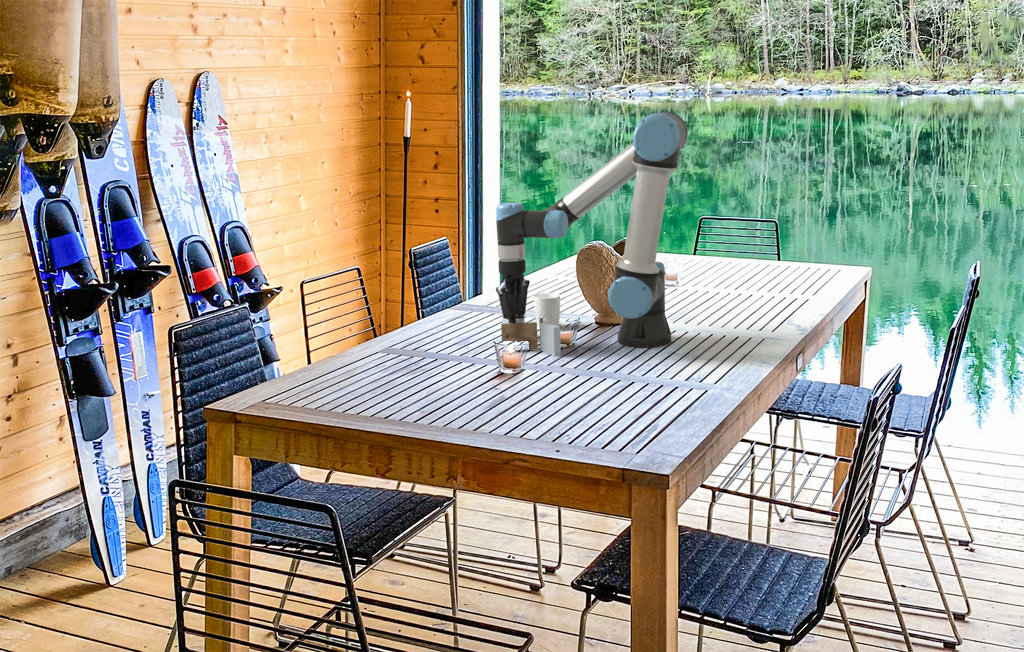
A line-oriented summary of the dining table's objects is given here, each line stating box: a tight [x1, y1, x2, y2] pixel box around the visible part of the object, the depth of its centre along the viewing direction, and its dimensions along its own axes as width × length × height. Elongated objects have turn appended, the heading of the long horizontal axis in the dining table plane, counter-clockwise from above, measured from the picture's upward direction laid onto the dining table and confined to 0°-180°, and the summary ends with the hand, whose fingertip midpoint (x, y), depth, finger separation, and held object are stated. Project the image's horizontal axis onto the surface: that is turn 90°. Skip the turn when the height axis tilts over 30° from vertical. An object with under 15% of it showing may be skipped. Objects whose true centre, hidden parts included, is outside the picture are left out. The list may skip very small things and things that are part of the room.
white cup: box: [533, 292, 561, 328], centre depth 335 cm, size 8×8×10 cm
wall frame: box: [501, 313, 562, 357], centre depth 314 cm, size 30×2×9 cm, turn 28°
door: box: [500, 321, 539, 351], centre depth 308 cm, size 10×2×8 cm, turn 90°
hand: (515, 341), depth 312 cm, fingers closed
